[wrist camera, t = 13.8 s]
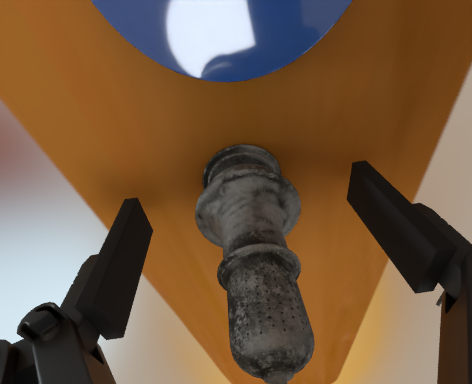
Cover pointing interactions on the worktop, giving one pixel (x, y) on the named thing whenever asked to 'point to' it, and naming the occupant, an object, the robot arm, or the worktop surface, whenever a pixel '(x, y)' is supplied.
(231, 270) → the grey tall tiered piece
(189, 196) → the worktop surface
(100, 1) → the plate
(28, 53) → the worktop surface
